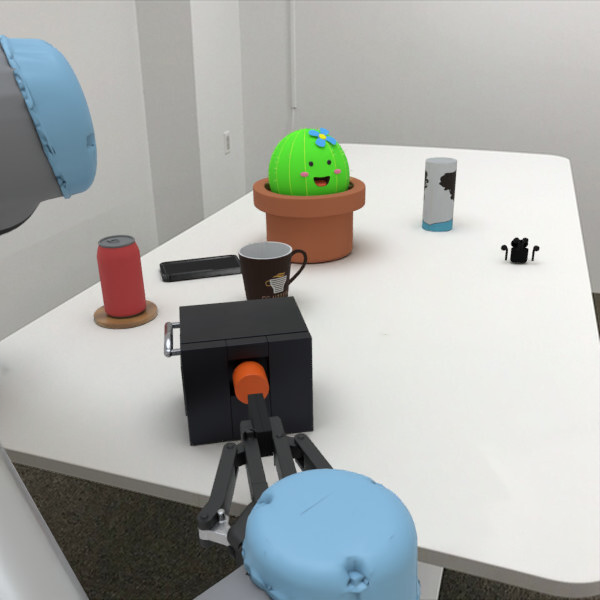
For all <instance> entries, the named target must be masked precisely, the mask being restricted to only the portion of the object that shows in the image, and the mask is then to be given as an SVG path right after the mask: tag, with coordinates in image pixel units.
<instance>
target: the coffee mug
mask: <svg viewBox="0 0 600 600" xmlns="http://www.w3.org/2000/svg"><path fill="white" fill-rule="evenodd" d="M296 253H302V254H303V256H304V262H303V263H301V266H300V267H299V269H298V270H297V271H296V272H295V273H294V274H293V276H291V269H292V268H291V267H292V262H291V259H292V256H293V255H294V254H296ZM237 254H238V255H237V256H238V258H239V260H240V266H241V271H242V272H241V275H242V281H243V288H244V293H245V300H256V299H267V298H278V297H289V292H290V291H289V290H290V285H291V284H292V283H293V282H294V281H295V280H297V278H298V277H300V275H301V274H302V272H303V271H304V269H305V268H306V266H307V264H308V263H307V254H306V252H305V251H303V250H300V249H296V250H293V251H292V247H291V246H289V245H287V244H285V243H280V242H267V241H256V242H251V243H246V244H244V245H241V246H240V247H239V248H238V249H237Z"/></svg>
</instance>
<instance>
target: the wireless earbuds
mask: <svg viewBox="0 0 600 600" xmlns="http://www.w3.org/2000/svg"><path fill="white" fill-rule="evenodd" d="M529 240H530V239H529V238H528V237H523V238H522V239H520V238H519V237H518V236H517V237H514V238H513V239H512V240H511V242H510V246H511V248H510V257H509V261H510V262H511V263H512V264H526V263H527V262H528V257H529V250H530V249H529V248H528V246H529ZM540 249H541V248H540V246H539V245H537V244H536V245H533V247H532V252H531V253H532V254H531V262H534V261H535V254H536V252H539V251H540ZM500 250H501V251H504V253H505V255H504V261H505V262H506V261H508V255H509V248H508V246H507V245H506V244H502V245H501V246H500Z"/></svg>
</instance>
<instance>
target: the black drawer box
mask: <svg viewBox="0 0 600 600" xmlns="http://www.w3.org/2000/svg"><path fill="white" fill-rule="evenodd" d="M178 314H179V316H178V317H179V318H178V319H179V321H175V322H174V321H173V322H172V321H167V322H165V323H164V329H163V330H164V331H163V355H164V357H165V358H172V357H177V356H178V357H179V360H180V361H179V362H180V374H181V385H182V395H183V402H184V412H185V417H187V427H188V437H189V444H190V445H189V446H190V447H192V446H193V447H194V446H202V445H208V444H209V445H210V444H218V443H224V442H226V443H227V442H233V441H241V433H240V423H241V421H244V420H249V412H248V404H245V403H243V402H241V401H240V400H239V399H238V398H237V397H236V394H235V390H234V384H233V372H234V370H235V368H236V367H237V366H238V365H239V364H241V363H243V362H247V361H253V362H257V363H259V364H260V365H262V367H263V368H264V370H265V373H266V377H267V380H268V384H269V392H268V394H267V396H266V398H265V399H264V401H265V404H266V408H267V412H268V416H269V417H274V416H278V417H279V418H280V419H281V422H282V425H283V429H284V432H285V434H286V435H290V434H299V433H305V432H313V431H314V383H313V382H314V381H313V380H314V376H313V375H314V374H313V369H314V368H313V337H312V334H311V332H310V330H309V328H308V326H307V323H306V321H305V319H304V317H303V314H302V312H301V310H300V308H299V305H298V303H297V301H296V299H295V296H293V295H292V296H291V295H290V296H289V295H288V297H278V298H267V299H256V300H247V299H245V300H236V301H223V302H213V303H203V304H191V305H179V307H178ZM174 329H179V347H178V348H174Z"/></svg>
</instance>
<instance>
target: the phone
mask: <svg viewBox="0 0 600 600" xmlns="http://www.w3.org/2000/svg"><path fill="white" fill-rule="evenodd" d="M158 266H159V271H160V275H161V280H162V282H174V281H185V280H193V279H200V278H201V279H202V278H209V277H218V276H226V275H234V274H235V275H236V274H240V273H241V274H242V271H241V266H240V260H239V255H237V254H225V255H216V256H215V255H214V256H206V257H197V258H196V257H195V258H188V259H177V260H168V261H163V262H160V263H159V265H158Z"/></svg>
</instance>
